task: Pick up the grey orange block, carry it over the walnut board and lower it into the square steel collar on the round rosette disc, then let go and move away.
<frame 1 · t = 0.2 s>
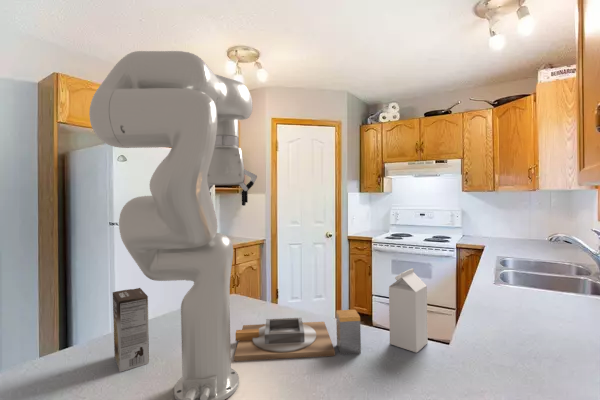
hand: (226, 205, 87), 37 cm above the counter, tool pointing down, fingers open, 9 cm apart
rosette board: (284, 341, 84), on the counter
milk carton: (408, 344, 81), on the counter
grey orange block: (348, 349, 79), on the counter
coffee box: (131, 361, 75), on the counter
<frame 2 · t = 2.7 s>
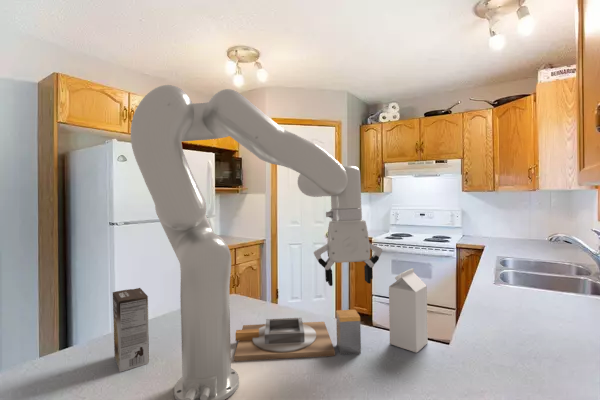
hand: (349, 283, 79), 17 cm above the counter, tool pointing down, fingers open, 9 cm apart
nothing on the counter moved.
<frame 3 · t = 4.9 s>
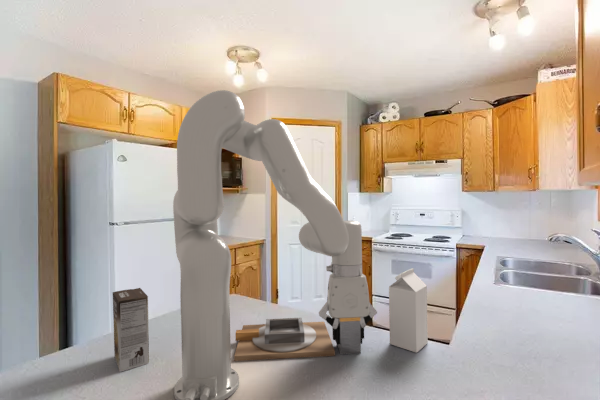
hand: (348, 341, 79), 2 cm above the counter, tool pointing down, fingers closed on grey orange block, 5 cm apart
grey orange block: (348, 349, 79), on the counter, touching gripper
everything else where it was.
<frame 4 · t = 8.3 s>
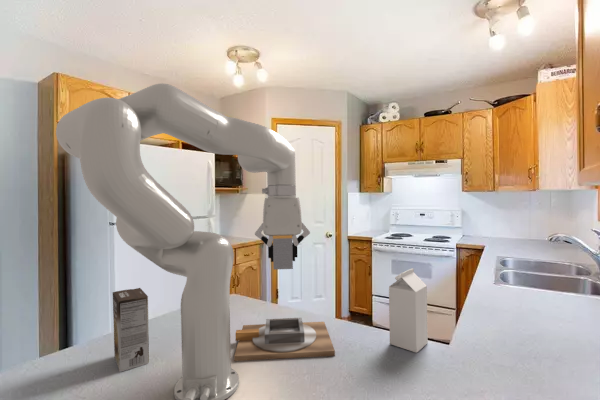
hand: (282, 259, 83), 22 cm above the counter, tool pointing down, fingers closed on grey orange block, 5 cm apart
grey orange block: (283, 267, 83), point 20 cm above the counter, touching gripper
everything else where it was.
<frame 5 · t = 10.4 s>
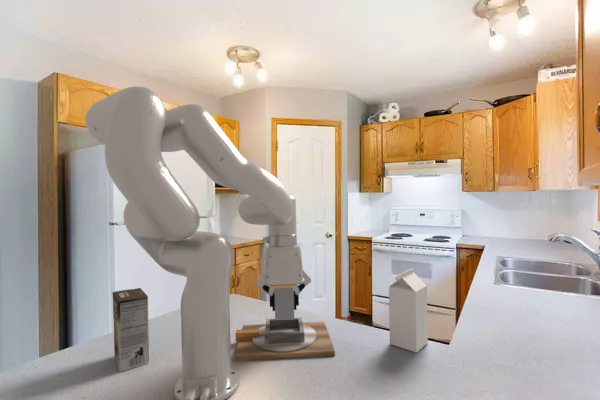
hand: (284, 308, 84), 9 cm above the counter, tool pointing down, fingers closed on grey orange block, 5 cm apart
grey orange block: (284, 315, 84), point 7 cm above the counter, touching gripper
everything else where it was.
when the fingers open (6 cm above the counter, at t = 12.0 s): grey orange block drops 2 cm, resting on rosette board.
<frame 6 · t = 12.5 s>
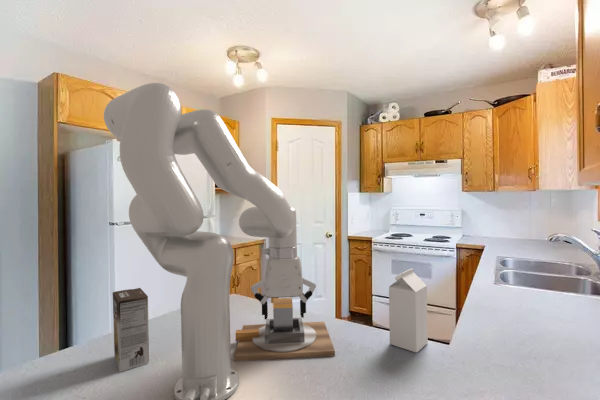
hand: (284, 316, 84), 7 cm above the counter, tool pointing down, fingers open, 9 cm apart
grey orange block: (283, 334, 83), point 2 cm above the counter, touching rosette board
everything else where it was.
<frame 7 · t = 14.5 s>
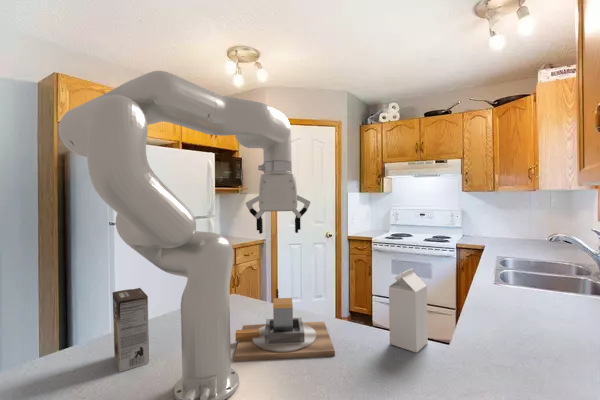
hand: (278, 232, 84), 29 cm above the counter, tool pointing down, fingers open, 9 cm apart
nothing on the counter moved.
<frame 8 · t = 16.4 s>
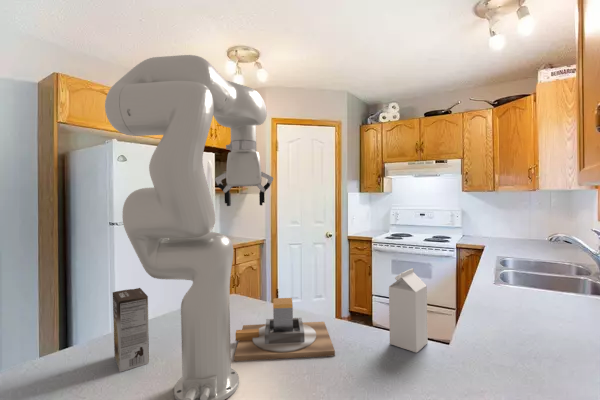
hand: (244, 205, 94), 36 cm above the counter, tool pointing down, fingers open, 9 cm apart
nothing on the counter moved.
at the end: grey orange block 0.3 cm from the rosette board (horizontally); grey orange block point 1.8 cm above the counter; grey orange block tilted 0° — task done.
